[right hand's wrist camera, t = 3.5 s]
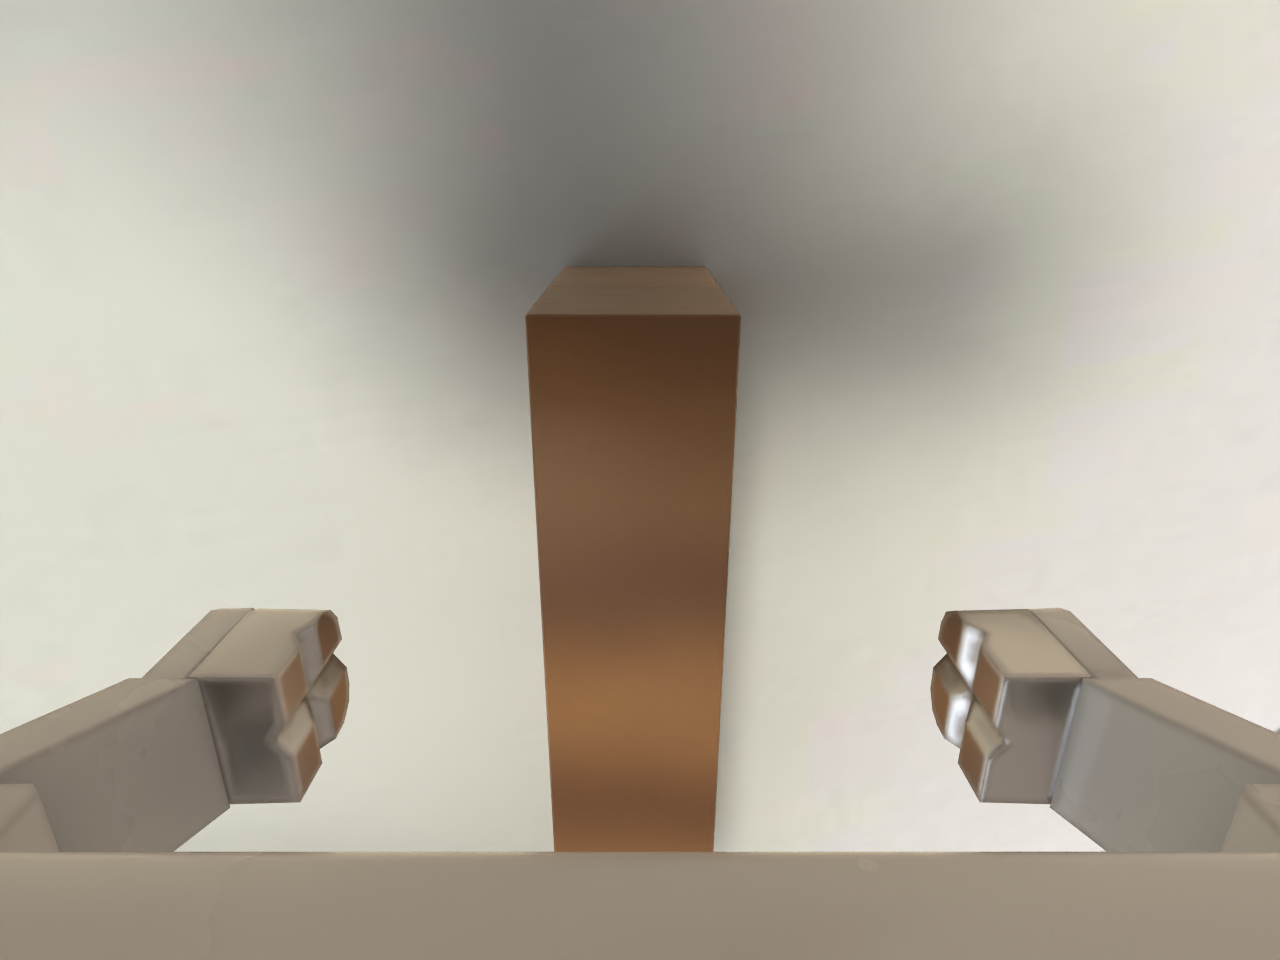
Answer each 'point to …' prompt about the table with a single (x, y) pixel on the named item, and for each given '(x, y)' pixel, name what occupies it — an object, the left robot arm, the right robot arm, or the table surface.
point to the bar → (633, 548)
